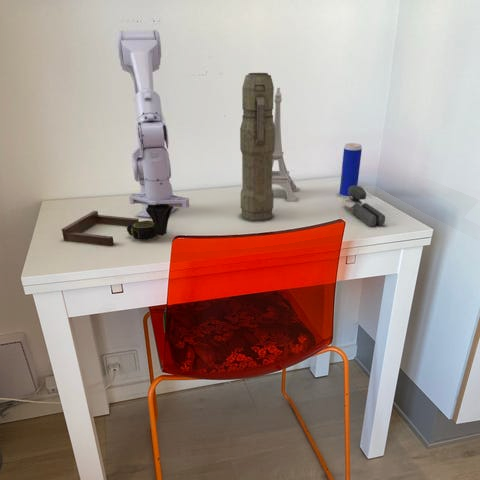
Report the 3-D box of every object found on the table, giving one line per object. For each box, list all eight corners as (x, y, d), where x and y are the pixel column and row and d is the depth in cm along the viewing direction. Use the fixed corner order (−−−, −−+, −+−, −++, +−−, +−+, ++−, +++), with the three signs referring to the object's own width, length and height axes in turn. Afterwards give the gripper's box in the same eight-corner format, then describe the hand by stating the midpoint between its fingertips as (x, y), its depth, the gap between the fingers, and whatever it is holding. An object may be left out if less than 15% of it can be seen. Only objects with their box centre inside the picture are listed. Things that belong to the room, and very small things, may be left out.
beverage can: (343, 192, 148) (348, 142, 140) (358, 195, 145) (365, 144, 138) (336, 196, 145) (341, 145, 137) (351, 199, 142) (357, 147, 134)
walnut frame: (95, 221, 127) (93, 210, 126) (139, 225, 124) (138, 214, 122) (63, 240, 116) (61, 229, 114) (111, 246, 112) (109, 234, 111)
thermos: (246, 225, 124) (246, 75, 105) (236, 211, 133) (234, 72, 115) (278, 222, 125) (283, 74, 107) (266, 208, 135) (269, 71, 117)
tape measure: (153, 231, 121) (151, 217, 119) (164, 239, 116) (162, 224, 114) (127, 236, 118) (125, 222, 116) (137, 245, 112) (135, 230, 111)
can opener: (338, 205, 137) (340, 183, 133) (354, 204, 138) (357, 182, 134) (368, 228, 121) (371, 203, 118) (386, 226, 122) (390, 202, 119)
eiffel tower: (256, 187, 154) (257, 85, 138) (297, 188, 152) (302, 85, 137) (251, 199, 143) (252, 90, 127) (295, 201, 141) (301, 90, 125)
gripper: (119, 180, 106) (127, 237, 113) (179, 184, 103) (183, 243, 110) (134, 172, 112) (141, 227, 119) (191, 176, 108) (194, 232, 116)
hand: (162, 234), depth 115 cm, fingers closed
